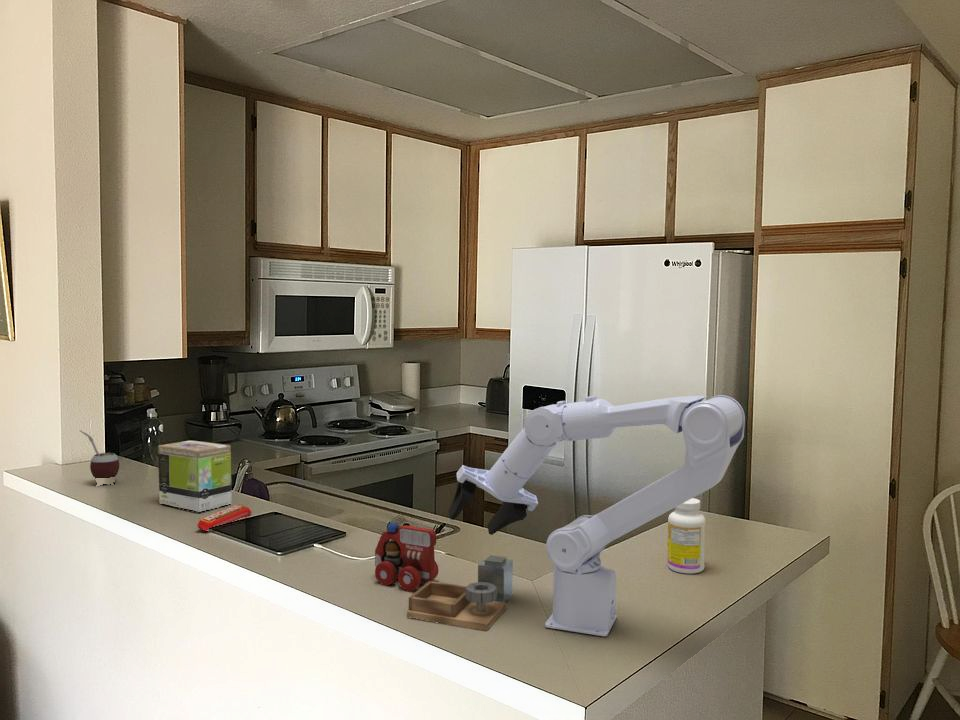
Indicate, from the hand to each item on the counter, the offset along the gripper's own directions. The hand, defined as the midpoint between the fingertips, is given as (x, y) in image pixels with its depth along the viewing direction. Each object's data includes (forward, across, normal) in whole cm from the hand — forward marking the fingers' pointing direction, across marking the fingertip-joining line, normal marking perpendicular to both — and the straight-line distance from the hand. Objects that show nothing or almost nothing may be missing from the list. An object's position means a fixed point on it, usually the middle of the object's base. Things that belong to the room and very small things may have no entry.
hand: (470, 522), depth 128 cm
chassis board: (+8, -1, +12) cm, 14 cm away
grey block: (+8, -9, +6) cm, 13 cm away
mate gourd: (+89, +50, -76) cm, 127 cm away
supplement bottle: (-7, -43, -1) cm, 44 cm away
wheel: (+4, -3, +12) cm, 13 cm away
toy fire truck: (+18, +2, -2) cm, 18 cm away
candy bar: (+54, +25, -38) cm, 71 cm away
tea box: (+65, +30, -54) cm, 89 cm away
